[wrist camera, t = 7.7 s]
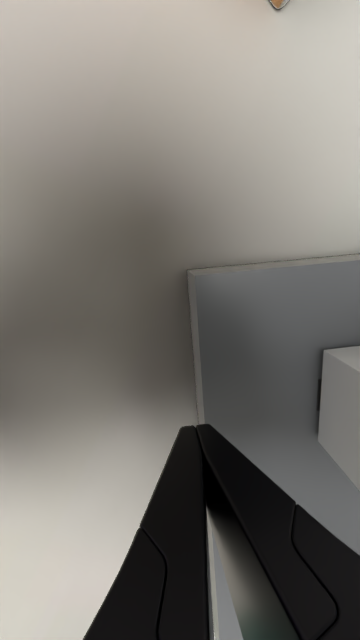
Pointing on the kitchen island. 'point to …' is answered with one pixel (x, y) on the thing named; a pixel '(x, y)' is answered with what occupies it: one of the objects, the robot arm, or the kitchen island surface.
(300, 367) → the switch panel
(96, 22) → the kitchen island surface
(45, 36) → the kitchen island surface
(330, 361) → the light gray cube
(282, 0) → the small box
